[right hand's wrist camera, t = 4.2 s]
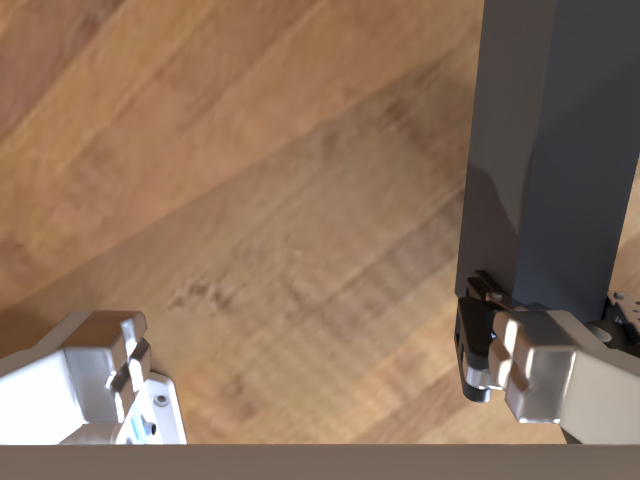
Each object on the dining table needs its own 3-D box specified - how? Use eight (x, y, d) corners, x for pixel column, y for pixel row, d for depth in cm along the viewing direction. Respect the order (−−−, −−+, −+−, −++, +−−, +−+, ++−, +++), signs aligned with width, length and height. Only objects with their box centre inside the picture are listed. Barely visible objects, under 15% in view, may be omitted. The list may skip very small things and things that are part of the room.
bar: (497, -123, 26) (592, -239, 17) (586, -124, 26) (730, -240, 17) (454, 292, 34) (501, 362, 25) (521, 292, 34) (592, 362, 25)
